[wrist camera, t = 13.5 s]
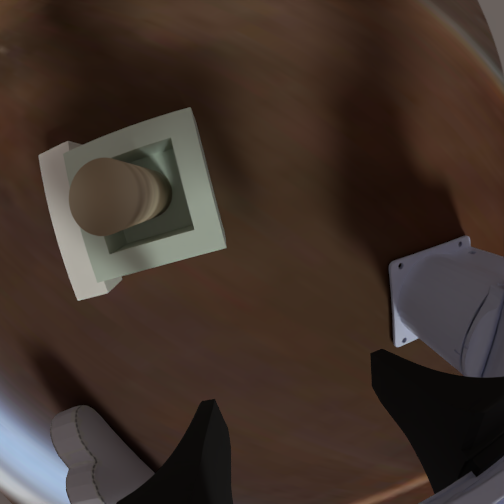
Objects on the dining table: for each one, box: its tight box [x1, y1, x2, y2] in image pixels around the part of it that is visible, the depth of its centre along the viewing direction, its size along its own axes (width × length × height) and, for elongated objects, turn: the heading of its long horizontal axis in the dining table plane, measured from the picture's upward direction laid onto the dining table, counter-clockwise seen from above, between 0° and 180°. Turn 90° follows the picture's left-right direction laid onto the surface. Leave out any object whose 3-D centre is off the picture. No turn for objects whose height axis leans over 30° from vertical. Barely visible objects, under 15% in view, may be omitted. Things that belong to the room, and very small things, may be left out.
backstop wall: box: [38, 141, 122, 301], centre depth 17 cm, size 2×10×3 cm, turn 14°
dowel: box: [69, 158, 172, 236], centre depth 15 cm, size 3×3×8 cm
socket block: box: [63, 107, 226, 283], centre depth 17 cm, size 8×8×4 cm
